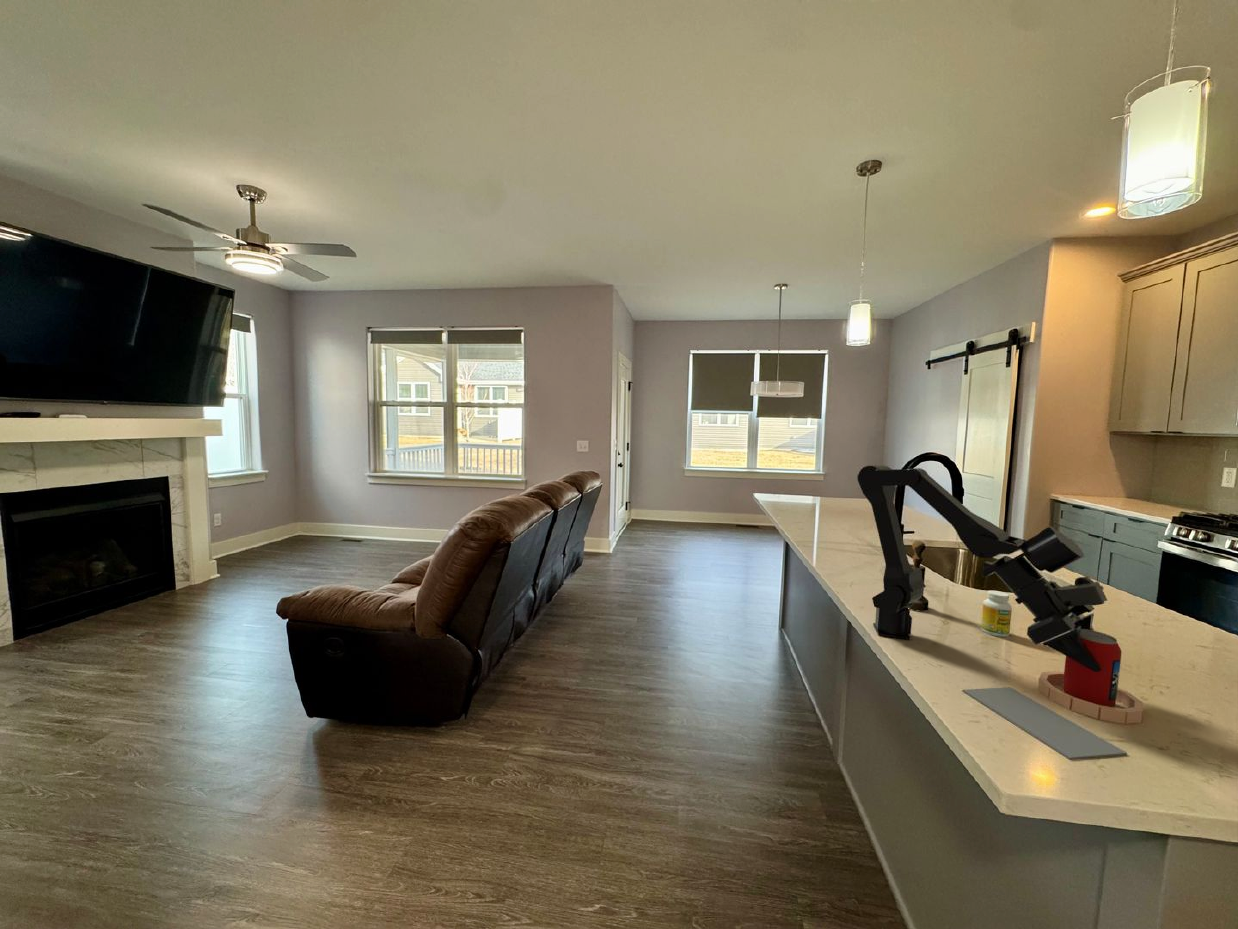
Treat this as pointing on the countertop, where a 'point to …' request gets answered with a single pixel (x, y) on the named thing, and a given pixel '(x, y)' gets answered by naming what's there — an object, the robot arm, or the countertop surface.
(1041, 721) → the mat
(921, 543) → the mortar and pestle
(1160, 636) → the countertop surface
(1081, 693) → the beverage can
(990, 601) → the supplement bottle
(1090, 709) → the segmented polygon ring
